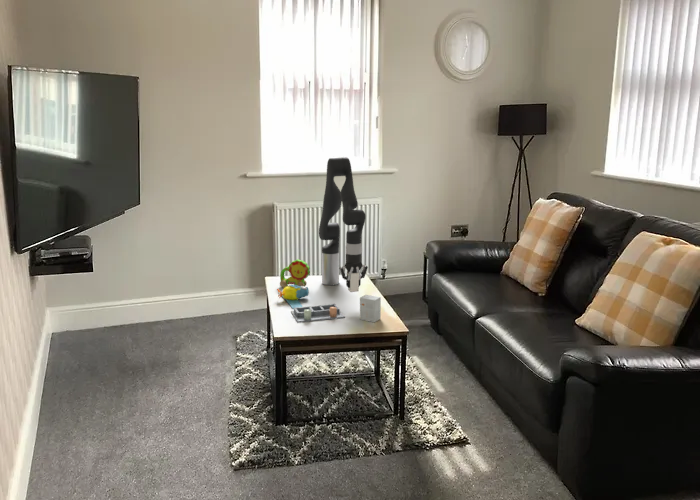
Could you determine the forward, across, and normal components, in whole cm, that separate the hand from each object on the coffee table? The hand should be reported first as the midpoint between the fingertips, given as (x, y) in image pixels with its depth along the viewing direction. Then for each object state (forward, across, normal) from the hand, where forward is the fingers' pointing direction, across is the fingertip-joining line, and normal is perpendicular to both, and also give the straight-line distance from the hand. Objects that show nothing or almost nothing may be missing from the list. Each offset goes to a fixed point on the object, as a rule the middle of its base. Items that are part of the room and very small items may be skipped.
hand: (353, 286), depth 295 cm
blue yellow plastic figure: (+12, +25, -21) cm, 34 cm away
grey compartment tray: (+11, +18, +4) cm, 22 cm away
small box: (+11, -3, +16) cm, 20 cm away
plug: (+2, 0, 0) cm, 2 cm away
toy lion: (+12, +19, -42) cm, 47 cm away
